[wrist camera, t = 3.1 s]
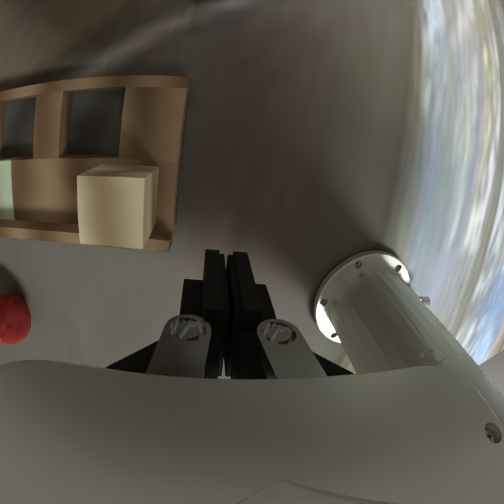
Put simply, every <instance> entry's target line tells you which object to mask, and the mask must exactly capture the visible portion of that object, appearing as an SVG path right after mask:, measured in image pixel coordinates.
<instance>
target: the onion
mask: <svg viewBox="0 0 504 504" xmlns="http://www.w3.org/2000/svg"><path fill="white" fill-rule="evenodd" d="M30 327H31V314H30V311H29V307H28V306H27V304H26V302H25V301H24V300H23V299H22V298H20V297H19V296H17V295H14V294H3V295H1V296H0V342H3V343H7V344H14V343H17V342H20V341H22V340H23V339H24V338H25V337H26V336H27V334H28V332H29V330H30Z"/></svg>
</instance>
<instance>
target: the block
mask: <svg viewBox="0 0 504 504" xmlns="http://www.w3.org/2000/svg"><path fill="white" fill-rule="evenodd" d="M158 172H159V167H157V166H139V165H114V164H102V165H99V166H97V167H95V168H93V169H90V170H88V171H86V172H84V173H82V174H80V175H78V176H77V204H78V224H79V238H80V244H91V245H101V246H112V247H123V248H134V249H143V248H144V246H145V244H146V242H147V240H148V238H149V237H150V235H151V233H152V231H153V229H154V227H155V225H156V205H157V187H158Z"/></svg>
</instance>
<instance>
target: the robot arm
mask: <svg viewBox="0 0 504 504" xmlns="http://www.w3.org/2000/svg"><path fill="white" fill-rule="evenodd" d="M429 305H430V299H429V297H418V295H417V294H416V293H415V292H414V291H413V290H412V289H411V288H410V276H409V273H408V270H407V268H406V267H405V265H404V264H403V263H402V262H401V261H400V260H399V259H398V258H397V257H395V256H394V255H393V254H391V253H388V252H385V251H379V250H372V251H365V252H362V253H358V254H355V255H353V256H351V257H349V258H347V259H346V260H344V261H343V262H341V263H340V264H338V265H337V266H336V267H335V268H334V269H333V270H332V271H331V272H330V273H329V274H328V275H327V276H326V278H325V279H324V280H323V282H322V283H321V285H320V287H319V289H318V291H317V294H316V297H315V299H314V306H313V312H314V318H315V321H316V324H317V326H318V328H319V330H320V331H321V332H322V333H323V335H324V336H325V337H327V338H328V339H330V340H332V341H335V342H338V343H342V345H343V347H344V349H345V351H346V353H347V355H348V357H349V359H350V361H351V363H352V365H353V367H354V369H355V371H356V373H357V374H353V373H352V372H350V371H348V370H346V369H344V368H342V367H340V366H338V365H336V364H334V363H333V362H331V361H329V360H327V359H325V358H323V357H321V356H319V355H317V354H316V353H314V352H312V350H311V349H310V347H309V345H308V344H307V342H306V341H305V339H304V337H303V336H302V334H301V332H300V331H299V330H298V328H297V327H296V326H294V325H293V324H292V323H290V322H287V321H285V320H280V319H276V316H275V312H274V309H273V306H272V303H271V300H270V296H269V293H268V290H267V287H266V285H264V284H255V281H254V277H253V273H252V269H251V265H250V261H249V258H248V254H247V253H246V252H233V255H228V257H227V265H226V268H225V258H224V254H219V250H209V249H206V251H205V262H204V274H203V280H191V279H184V285H183V292H182V300H181V308H180V315H178V316H175V317H172V318H171V319H170V320H168V321H167V323H166V324H165V326H164V329H163V331H162V334H161V336H160V339H159V340H158V341H156V342H154V343H153V344H151V345H149V346H147V347H145V348H143V349H141V350H139V351H137V352H135V353H133V354H131V355H129V356H127V357H125V358H123V359H121V360H119V361H117V362H115V363H113V364H111V365H109V366H108V367H106V368H100V367H93V366H86V365H79V364H73V363H67V362H60V361H50V360H24V361H15V362H10V363H6V364H3V365H1V366H0V504H504V396H503V395H502V394H501V392H500V391H499V390H498V389H497V387H496V386H495V385H494V384H493V383H492V382H491V380H490V379H489V378H488V377H487V376H486V374H484V372H483V371H482V370H481V369H480V367H479V366H478V365H477V364H476V362H475V361H474V360H473V359H472V357H471V356H470V355H469V354H468V353H467V352H466V351H465V349H464V348H463V347H462V346H461V345H460V343H459V342H458V341H457V340H456V339H455V338H454V337H453V335H452V334H451V333H450V332H449V331H448V330H447V329H446V327H445V326H444V325H443V324H442V323H441V322H440V321H439V320H438V319H437V317H436V316H435V315H434V314H433V313H432V312H431V311H430V310H429V309H428V308H427V307H428V306H429ZM223 359H224V364H225V375H226V376H231V379H218V376H221V375H222V367H223Z"/></svg>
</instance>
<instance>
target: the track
mask: <svg viewBox="0 0 504 504" xmlns="http://www.w3.org/2000/svg"><path fill="white" fill-rule="evenodd" d="M190 86H191V79H190V78H189V77H188V76H166V75H123V76H102V77H89V78H78V79H69V80H61V81H53V82H47V83H41V84H35V85H29V86H24V87H19V88H14V89H10V90H6V91H1V92H0V236H1V237H10V238H21V239H31V240H41V241H51V242H61V243H72V244H80V238H79V224H78V204H77V176H78V175H80V174H82V173H84V172H86V171H88V170H90V169H93V168H95V167H97V166H99V165H102V164H114V165H139V166H157V167H159V172H158V187H157V205H156V225H155V227H154V229H153V231H152V233H151V235H150V237H149V238H148V240H147V242H146V244H145V246H144V248H143V249H137V250H148V251H159V252H169V250H170V247H171V244H172V241H173V238H174V235H175V232H176V216H177V202H178V189H179V177H180V166H181V156H182V147H183V138H184V130H185V122H186V114H187V107H188V100H189V93H190ZM83 245H91V244H83ZM93 246H101V245H93ZM104 247H112V246H104ZM115 248H123V247H115ZM126 249H134V248H126Z"/></svg>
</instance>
